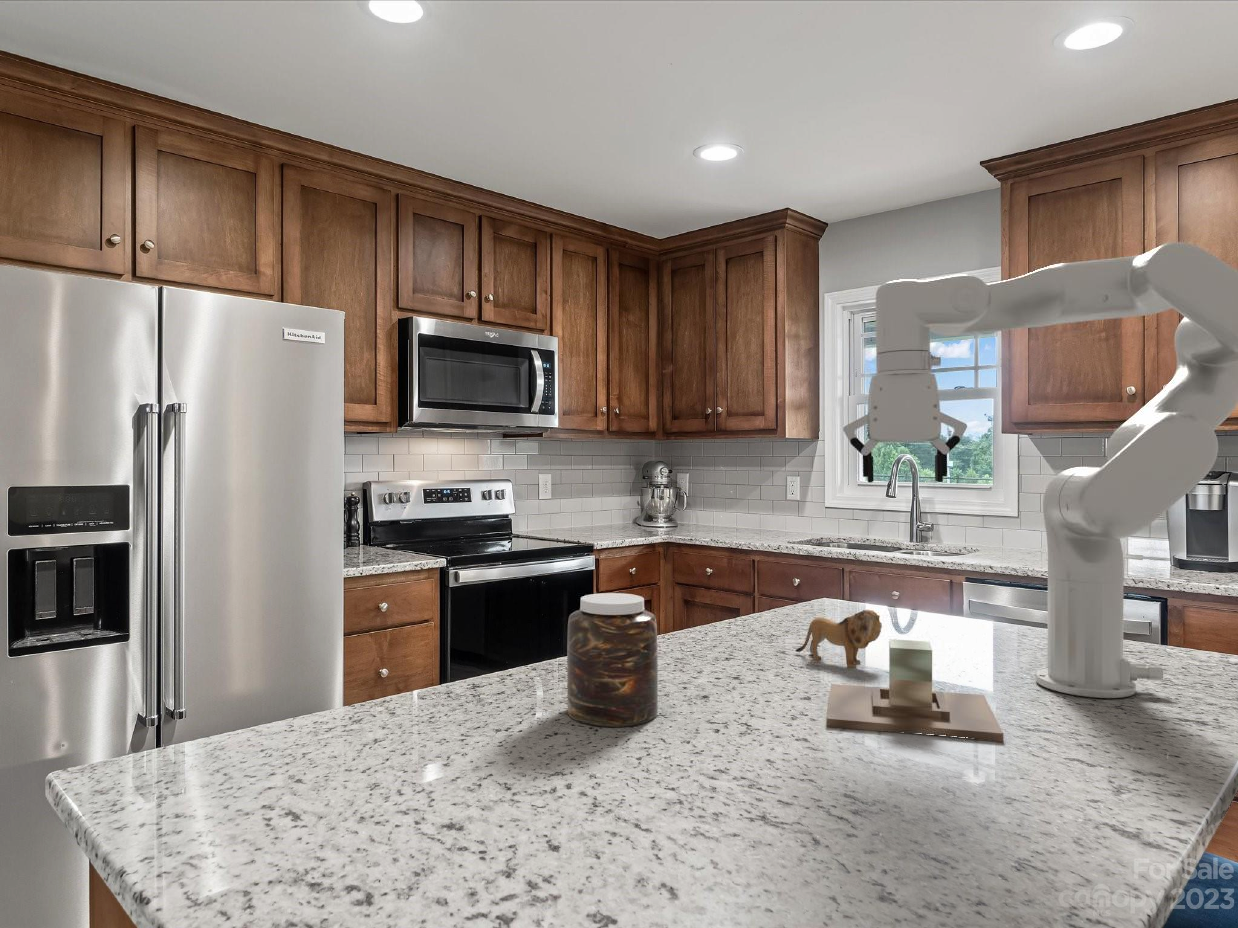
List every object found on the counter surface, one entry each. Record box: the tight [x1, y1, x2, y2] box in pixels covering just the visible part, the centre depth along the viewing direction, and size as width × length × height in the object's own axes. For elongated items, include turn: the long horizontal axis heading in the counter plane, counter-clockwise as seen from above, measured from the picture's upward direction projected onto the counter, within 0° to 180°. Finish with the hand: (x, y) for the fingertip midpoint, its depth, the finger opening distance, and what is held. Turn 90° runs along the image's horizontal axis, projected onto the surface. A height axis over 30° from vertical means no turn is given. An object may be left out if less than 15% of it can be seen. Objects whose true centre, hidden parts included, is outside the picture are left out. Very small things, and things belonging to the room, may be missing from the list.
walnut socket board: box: [826, 683, 1004, 743], centre depth 107 cm, size 20×16×2 cm
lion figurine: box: [795, 609, 883, 669], centre depth 134 cm, size 15×5×9 cm, turn 51°
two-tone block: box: [888, 639, 933, 708], centre depth 107 cm, size 5×5×8 cm
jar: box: [566, 592, 659, 728], centre depth 108 cm, size 12×12×15 cm
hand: (904, 481), depth 122 cm, fingers open, 9 cm apart
